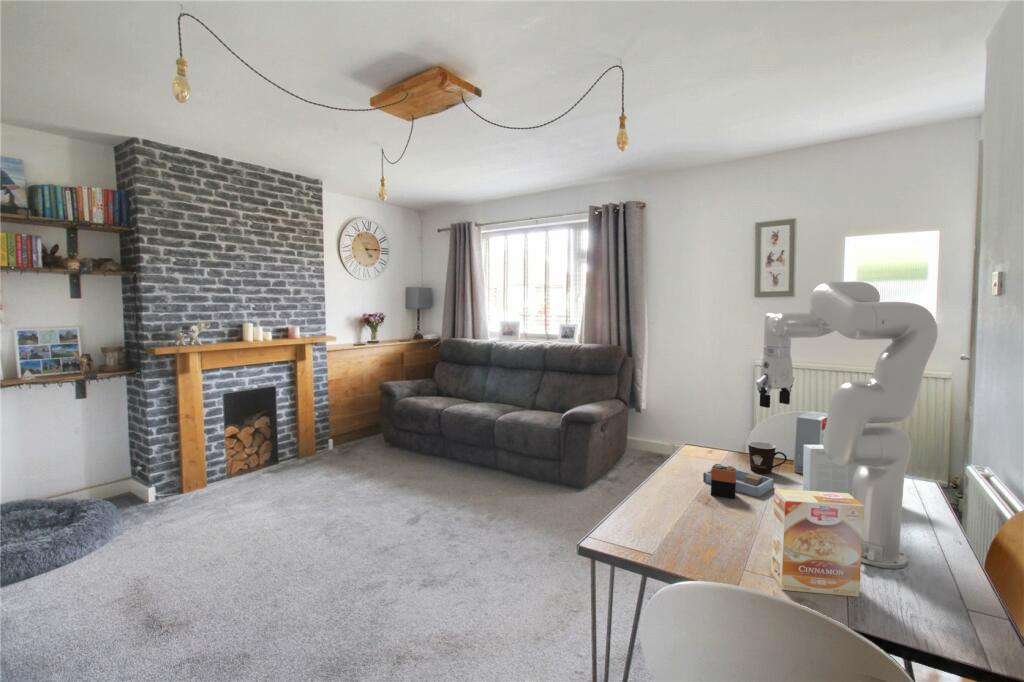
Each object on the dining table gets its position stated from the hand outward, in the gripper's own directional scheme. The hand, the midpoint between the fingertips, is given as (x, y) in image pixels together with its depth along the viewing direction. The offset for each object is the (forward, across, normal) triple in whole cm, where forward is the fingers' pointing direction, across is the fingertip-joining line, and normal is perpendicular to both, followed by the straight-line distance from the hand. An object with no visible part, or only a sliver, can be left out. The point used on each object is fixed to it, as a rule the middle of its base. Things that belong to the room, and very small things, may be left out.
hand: (774, 405), depth 155 cm
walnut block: (+27, -7, +2) cm, 27 cm away
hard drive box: (+28, +29, +4) cm, 40 cm away
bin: (+27, -8, +6) cm, 29 cm away
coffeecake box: (+27, -42, -38) cm, 63 cm away
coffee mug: (+28, +10, +9) cm, 31 cm away
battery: (+28, -19, +3) cm, 34 cm away
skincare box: (+28, +12, -15) cm, 33 cm away
